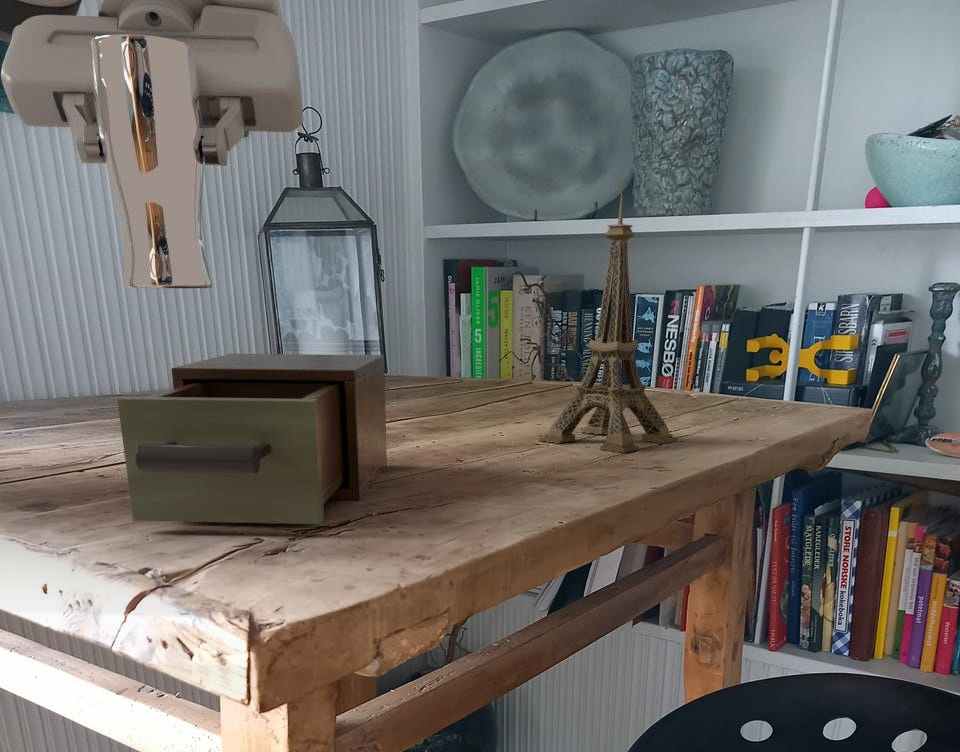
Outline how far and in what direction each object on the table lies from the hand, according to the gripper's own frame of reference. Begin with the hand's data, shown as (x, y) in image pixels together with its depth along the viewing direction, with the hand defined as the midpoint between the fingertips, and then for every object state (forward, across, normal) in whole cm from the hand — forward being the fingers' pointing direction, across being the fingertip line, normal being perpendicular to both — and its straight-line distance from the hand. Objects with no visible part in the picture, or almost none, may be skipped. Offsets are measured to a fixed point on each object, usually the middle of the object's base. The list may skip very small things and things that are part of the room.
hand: (153, 156), depth 63 cm
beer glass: (+6, 0, +6) cm, 9 cm away
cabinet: (+12, +8, +21) cm, 25 cm away
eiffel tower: (0, +39, +34) cm, 52 cm away
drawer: (+22, +5, +10) cm, 24 cm away
